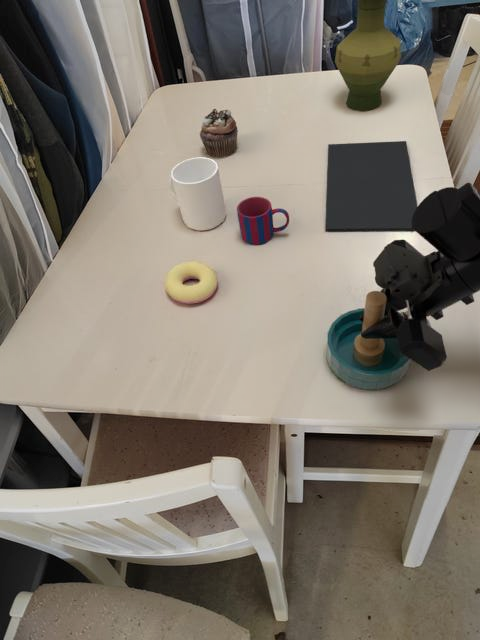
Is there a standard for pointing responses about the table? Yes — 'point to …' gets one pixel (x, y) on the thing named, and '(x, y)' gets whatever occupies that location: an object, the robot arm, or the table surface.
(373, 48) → the vase
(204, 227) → the mug
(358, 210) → the mat
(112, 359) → the table surface
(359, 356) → the stick
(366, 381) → the bowl
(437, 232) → the robot arm
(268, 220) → the cup
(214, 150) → the cupcake
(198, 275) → the donut
